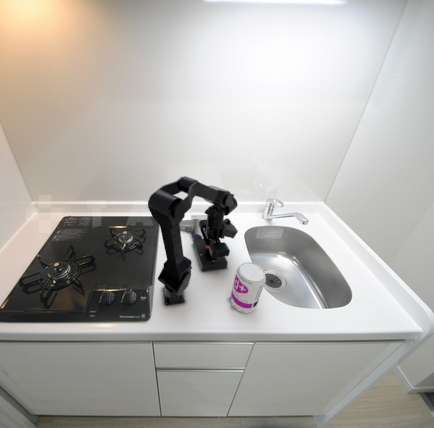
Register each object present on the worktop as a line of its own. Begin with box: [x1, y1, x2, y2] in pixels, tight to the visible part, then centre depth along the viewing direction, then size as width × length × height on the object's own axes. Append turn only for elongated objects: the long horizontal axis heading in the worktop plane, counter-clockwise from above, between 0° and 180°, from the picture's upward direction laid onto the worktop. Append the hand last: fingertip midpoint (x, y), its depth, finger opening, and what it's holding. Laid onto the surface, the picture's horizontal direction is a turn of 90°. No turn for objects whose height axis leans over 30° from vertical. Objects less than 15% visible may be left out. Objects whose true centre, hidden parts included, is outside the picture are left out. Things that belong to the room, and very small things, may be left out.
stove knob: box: [205, 246, 210, 256], centre depth 81 cm, size 5×2×4 cm, turn 99°
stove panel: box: [192, 238, 229, 272], centre depth 85 cm, size 15×10×3 cm, turn 9°
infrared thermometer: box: [180, 218, 203, 240], centre depth 97 cm, size 5×12×15 cm
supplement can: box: [229, 261, 267, 314], centre depth 64 cm, size 8×8×15 cm
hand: (210, 252), depth 82 cm, fingers open, 8 cm apart
